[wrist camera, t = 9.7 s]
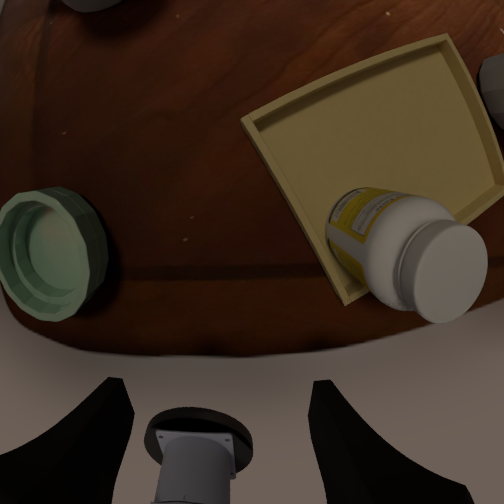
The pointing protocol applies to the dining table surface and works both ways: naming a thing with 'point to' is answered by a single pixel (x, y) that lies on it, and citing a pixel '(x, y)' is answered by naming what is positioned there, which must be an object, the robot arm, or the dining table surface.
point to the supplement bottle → (408, 251)
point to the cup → (90, 4)
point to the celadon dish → (51, 252)
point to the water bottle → (493, 87)
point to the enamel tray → (381, 141)
